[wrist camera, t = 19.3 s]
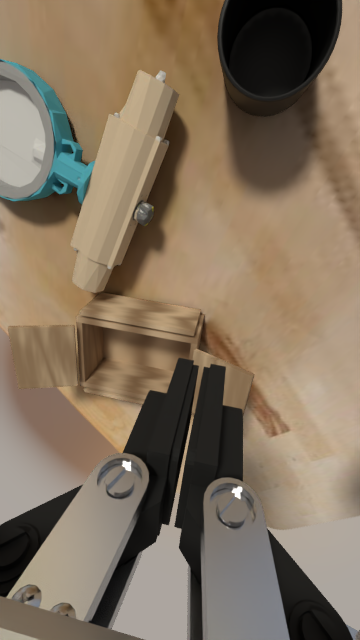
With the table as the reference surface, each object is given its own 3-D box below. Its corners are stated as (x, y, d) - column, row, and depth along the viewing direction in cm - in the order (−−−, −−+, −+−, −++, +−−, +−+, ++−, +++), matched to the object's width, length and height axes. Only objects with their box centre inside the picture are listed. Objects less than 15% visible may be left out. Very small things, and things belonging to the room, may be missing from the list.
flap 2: (185, 408, 44) (236, 437, 40) (193, 350, 39) (252, 376, 35) (187, 406, 44) (238, 434, 40) (196, 348, 39) (254, 374, 36)
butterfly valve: (-36, 197, 48) (125, 296, 47) (-81, 199, 42) (103, 313, 41) (-11, -23, 35) (211, 104, 34) (-70, -67, 29) (197, 86, 28)
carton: (205, 308, 46) (198, 333, 39) (193, 382, 52) (186, 414, 45) (99, 289, 48) (75, 310, 41) (100, 363, 54) (80, 391, 47)
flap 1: (73, 327, 41) (7, 328, 39) (77, 385, 45) (18, 389, 44) (74, 325, 41) (9, 326, 39) (78, 383, 46) (19, 386, 44)
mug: (273, -56, 28) (284, -143, 20) (334, 70, 31) (365, 37, 23) (192, 32, 32) (175, -12, 24) (253, 136, 35) (256, 128, 27)
